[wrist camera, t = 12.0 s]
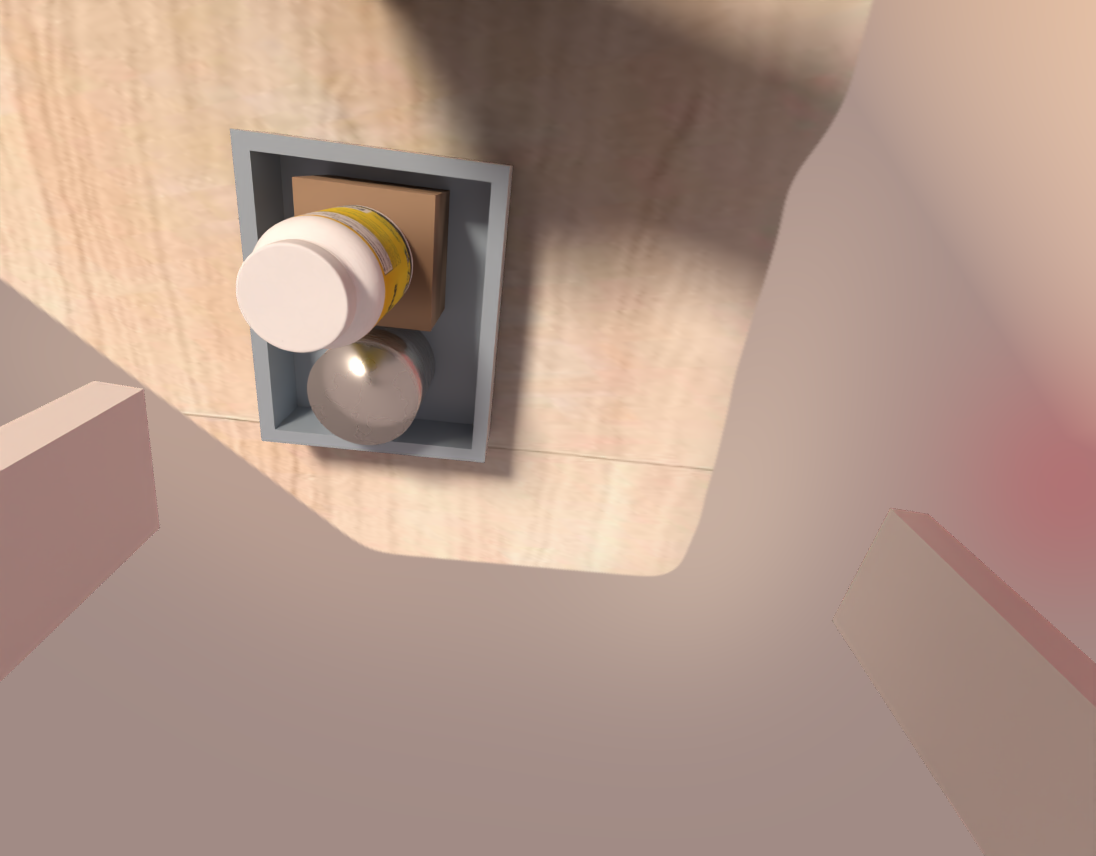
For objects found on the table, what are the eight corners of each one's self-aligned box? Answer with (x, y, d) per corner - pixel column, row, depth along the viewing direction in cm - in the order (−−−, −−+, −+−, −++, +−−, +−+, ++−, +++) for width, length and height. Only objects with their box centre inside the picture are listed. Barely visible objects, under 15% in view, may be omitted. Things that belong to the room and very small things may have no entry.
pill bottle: (358, 329, 36) (288, 396, 26) (288, 243, 33) (181, 279, 23) (437, 274, 34) (395, 322, 24) (369, 181, 32) (294, 191, 22)
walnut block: (327, 174, 37) (291, 176, 32) (449, 190, 38) (435, 195, 32) (332, 296, 41) (300, 316, 35) (444, 308, 41) (430, 331, 36)
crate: (267, 132, 37) (229, 128, 32) (513, 165, 38) (509, 166, 33) (289, 412, 45) (261, 440, 41) (489, 433, 46) (484, 462, 42)
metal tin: (339, 310, 41) (303, 337, 35) (436, 321, 42) (419, 350, 35) (342, 399, 44) (310, 439, 38) (433, 408, 45) (416, 450, 38)
